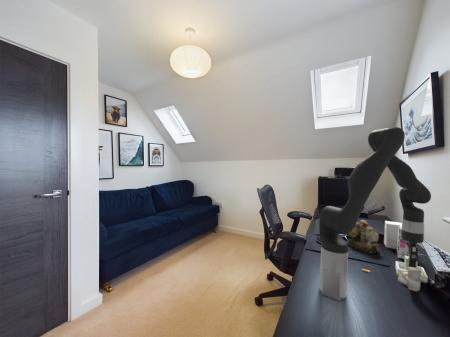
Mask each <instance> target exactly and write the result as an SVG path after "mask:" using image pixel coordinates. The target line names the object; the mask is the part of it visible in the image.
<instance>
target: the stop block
mask: <svg viewBox="0 0 450 337" xmlns="http://www.w3.org/2000/svg"><path fill="white" fill-rule="evenodd" d="M412 258H415V256H413V257H412ZM418 261H419V260H418ZM418 261H416V269H417V266H418V263H419V262H418ZM403 263H404V270H406V271H408V267H409V256H406V255H405V260H404V262H403Z"/></svg>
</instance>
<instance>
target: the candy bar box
mask: <svg viewBox="0 0 450 337" xmlns="http://www.w3.org/2000/svg"><path fill="white" fill-rule="evenodd" d="M401 232H402V225H399V226H398V240H397V249H396V256H397V257H396V258H397V259H401V260H404V261H405V255H407V253H406V248H405V247H406V244H405V243H406V240H404V239H402V238H401Z"/></svg>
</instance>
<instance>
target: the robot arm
mask: <svg viewBox="0 0 450 337" xmlns="http://www.w3.org/2000/svg"><path fill="white" fill-rule="evenodd" d="M405 138H406V137H405V131H404V129H403V128H401V127H399V126H398V127H397V126H393V127H392V126H391V127H387V128H380V129H374V130H373V131H371V132H370V133H368V137H367V142H368V145H369V147H370V148H371V150H372V151H373V153H372V154H370V155H369V156H368V157H366V158H365V159H363V160H362V161H360V162H359V163H358V164H357V165H356V166H355V168H353V170H352V171H351V173H350V175H349V177H348V179H347V188H348V195H349V196H348V200H347V202H346V203H345V205H344V207H343V208H340V207H336V206H333V205H332V206H331V205H326V206H325V207H323V208H322V209H321V212H320V214H319V218H318V219H319V223H318V225H319V240H320V243H321V244H320V246H321V248H320V263H319V264H320V269H319V291H320V292H321V295H323V296H326V297H328V298H330V299H333V300H335V301H337V302H341V300H344V299H346V298H347V285H348V283H347V282H348V265H349V264H348V262H349V246H348V244H347V242H348V241H346V240H345V239H344V238H343V237H342V236H341V235H343V236H346V235H347V236H348V234H349V233H350V232H351V231H352V230H353V228H354V227H355V225H356V223H358V221H359V219H360V215H361V213H362V211H363V209H364V206H365V204H366V202H367V200H368V199H369V197H370V195H371V194H372V191H373V190H374V189H375V187H376V185H378V183H379V180H380V178H381V177H382V174H383V173H384V172H385V170H386V168H388V170H389V172H390V173H391V175H392V177H393V178H394V180H395V182H396V184H397V185H398V186H399V187H400V188H401V189H400V190H399V193H398V195H399V196H398V197H399V199H400V204H401V207H402V211H403V212H402V221H401V223H402V232H401V238H402V239H404V240H406V243H405V244H406V247H405V248H406V253H407V255H406V256H409V267H413V268H416V261H419V256H418V255H419V246H418V244H423V243H424V242H425V241H424V238H425V236H424V235H425V223H424V222H425V211H424V209H421V208H419V207H418V206H415V204H421V205H422V204H427V203H429V202H430V201H431V199H432V194H431V191H430V190H429V189H428V187H427V186H425V185H424V183H422V182H421V181H420V179H418V178H417V176H416V173H414V170H413V169H412V167H411V166H410V165H409V164H408V163H406V162H405V161H403V160H402V159H401V158H399V157H398V156H397V155H396V154H397V153H398V151H399V150H400V149H401V148H402V147H403V144H404V142H405ZM414 203H415V204H414ZM412 257H414V258H412Z"/></svg>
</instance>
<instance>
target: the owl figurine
mask: <svg viewBox="0 0 450 337" xmlns="http://www.w3.org/2000/svg"><path fill="white" fill-rule="evenodd" d="M347 236H348V237H349V238H352V239H350V240H349V241H346V242H347V244H348V245H349V246H348V247H350V246H351V248H353V247H354V248H356V249H359V250H362V251H367V252H372V253H373V254H374V253H379V252H381V251H380V250H379V249H378V247H379V244H378V241H379V238H380V237H379V234H378V232H376V230H375V229H374V228H373V227H371V226H370V225H369V223H368V222H367V221H366V220H364V219H360V220H359V222H357V223H356V225H355V227H354V228H353V230H352V231H351V232H350V233H349V234H347ZM354 248H353V249H354ZM356 249H355V250H356ZM359 250H358V251H359ZM362 251H361V252H362ZM379 254H380V253H379Z"/></svg>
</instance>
